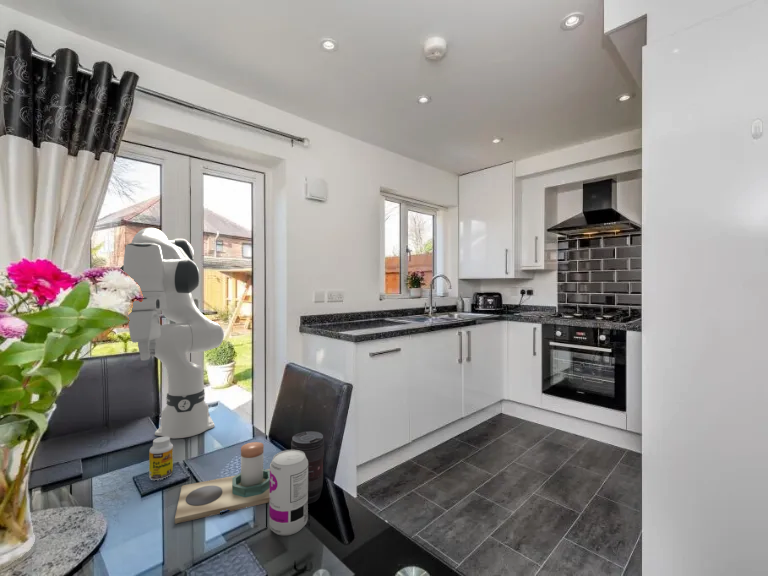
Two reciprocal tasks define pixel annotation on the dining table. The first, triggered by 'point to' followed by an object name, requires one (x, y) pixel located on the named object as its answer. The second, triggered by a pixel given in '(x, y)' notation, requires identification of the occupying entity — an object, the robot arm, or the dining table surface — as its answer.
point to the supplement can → (288, 492)
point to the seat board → (220, 497)
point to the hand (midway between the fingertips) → (148, 358)
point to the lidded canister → (252, 464)
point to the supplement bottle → (161, 458)
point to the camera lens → (311, 460)
